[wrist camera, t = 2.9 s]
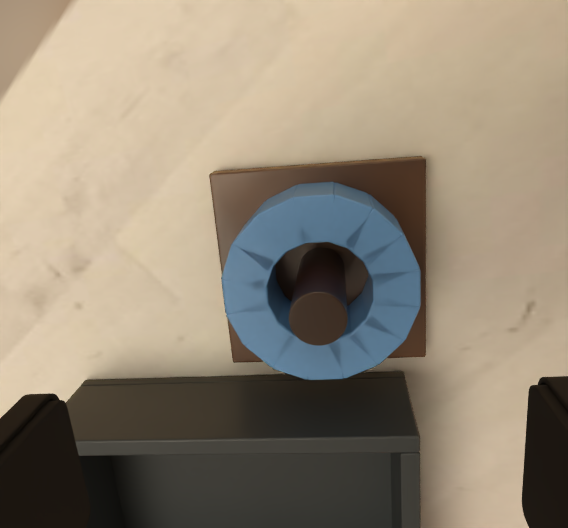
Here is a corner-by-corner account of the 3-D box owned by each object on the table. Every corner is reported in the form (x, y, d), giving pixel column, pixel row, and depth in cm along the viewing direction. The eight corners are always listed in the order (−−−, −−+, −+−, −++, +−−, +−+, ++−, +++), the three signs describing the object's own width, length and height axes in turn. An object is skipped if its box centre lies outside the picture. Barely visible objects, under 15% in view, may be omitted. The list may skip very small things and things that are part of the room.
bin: (84, 379, 24) (30, 441, 20) (403, 371, 22) (420, 436, 18) (126, 563, 27) (87, 650, 23) (406, 567, 25) (421, 661, 21)
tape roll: (226, 188, 20) (210, 202, 17) (409, 176, 19) (420, 188, 16) (245, 349, 22) (233, 382, 19) (410, 344, 21) (421, 377, 18)
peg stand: (213, 171, 20) (171, 198, 15) (422, 155, 19) (456, 178, 14) (236, 354, 23) (206, 433, 17) (422, 348, 22) (451, 429, 16)
